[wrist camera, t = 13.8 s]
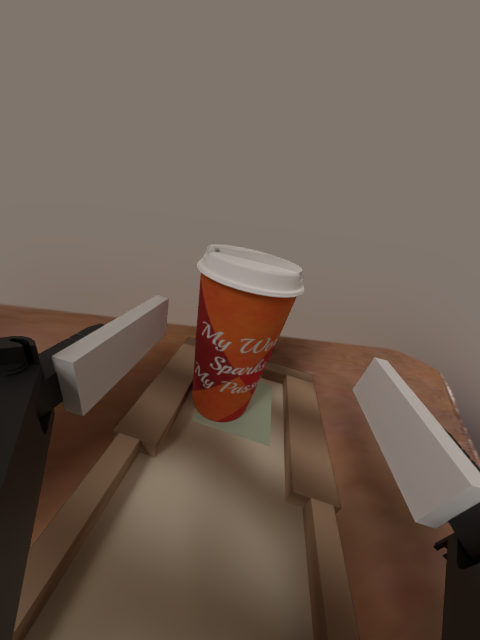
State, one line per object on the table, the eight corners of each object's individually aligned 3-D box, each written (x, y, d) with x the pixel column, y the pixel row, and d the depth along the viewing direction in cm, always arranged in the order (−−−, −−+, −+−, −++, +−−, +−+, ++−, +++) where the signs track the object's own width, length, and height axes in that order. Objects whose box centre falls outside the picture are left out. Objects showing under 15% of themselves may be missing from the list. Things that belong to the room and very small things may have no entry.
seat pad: (269, 446, 17) (269, 445, 17) (191, 420, 17) (191, 419, 17) (271, 387, 23) (272, 386, 23) (214, 369, 24) (214, 368, 23)
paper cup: (177, 437, 16) (201, 259, 9) (182, 369, 22) (198, 236, 16) (269, 431, 18) (337, 283, 12) (248, 371, 24) (285, 255, 18)
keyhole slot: (450, 1247, 4) (541, 1407, 3) (-224, 899, 5) (-306, 943, 4) (305, 386, 25) (311, 374, 24) (186, 349, 26) (188, 337, 25)
